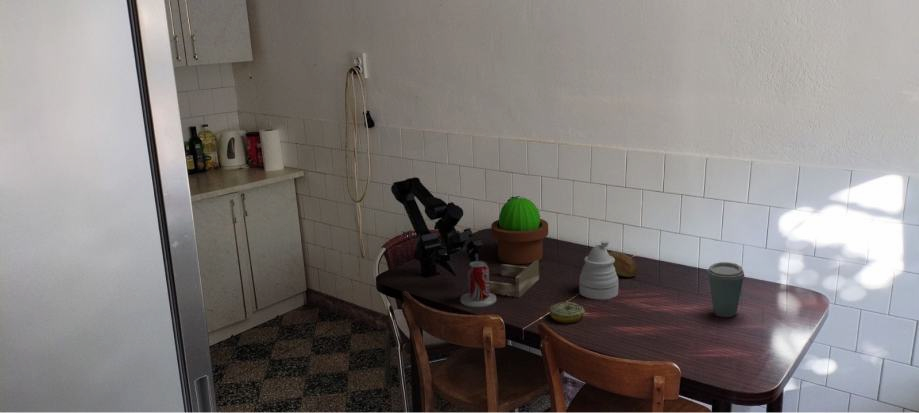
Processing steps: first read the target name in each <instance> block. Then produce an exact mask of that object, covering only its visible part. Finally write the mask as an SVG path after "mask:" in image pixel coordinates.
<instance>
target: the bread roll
mask: <svg viewBox="0 0 919 413" xmlns="http://www.w3.org/2000/svg"><path fill="white" fill-rule="evenodd" d="M608 254H609V255H610V256H612V257H613V258H614V259H615V262H614V263H613V266H614V267H615V271H616V275H617V276H620V277H626V278H631V277H635V276H637V274H638V267H637V264H636V262H635V260H634V259H633V258H632V257H631V256H630V255H628V254H626V253H624V252H620V251H612V252H608Z"/></svg>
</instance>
